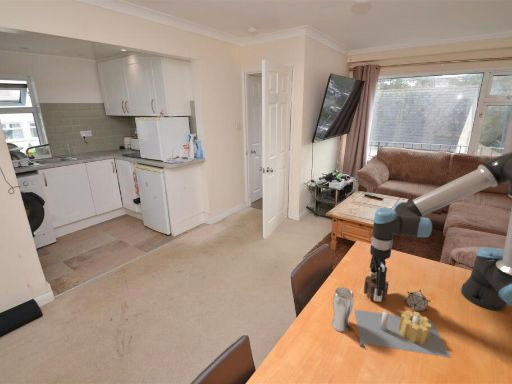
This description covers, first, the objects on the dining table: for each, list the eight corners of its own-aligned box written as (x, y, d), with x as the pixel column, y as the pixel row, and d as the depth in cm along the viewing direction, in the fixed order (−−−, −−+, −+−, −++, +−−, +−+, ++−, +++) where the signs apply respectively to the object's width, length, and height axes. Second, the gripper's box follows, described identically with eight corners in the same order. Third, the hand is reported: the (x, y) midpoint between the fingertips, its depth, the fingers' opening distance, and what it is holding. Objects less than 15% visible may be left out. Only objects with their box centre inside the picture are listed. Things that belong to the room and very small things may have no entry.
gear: (414, 321, 100) (417, 309, 98) (433, 341, 92) (437, 328, 90) (393, 325, 99) (395, 312, 97) (411, 346, 90) (414, 332, 88)
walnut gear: (383, 287, 117) (385, 276, 115) (389, 301, 108) (391, 289, 106) (362, 285, 118) (363, 274, 116) (365, 299, 110) (367, 287, 108)
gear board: (430, 323, 101) (435, 305, 99) (450, 361, 87) (456, 341, 84) (353, 312, 107) (356, 295, 104) (360, 346, 92) (363, 327, 89)
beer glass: (337, 335, 96) (341, 301, 92) (327, 320, 103) (330, 288, 98) (353, 330, 98) (358, 297, 93) (343, 317, 105) (347, 285, 100)
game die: (418, 319, 108) (436, 314, 100) (399, 310, 109) (415, 304, 101) (418, 298, 114) (435, 291, 106) (399, 289, 114) (415, 282, 106)
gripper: (366, 233, 117) (361, 276, 124) (377, 260, 97) (370, 310, 104) (384, 234, 116) (378, 278, 123) (399, 262, 95) (391, 312, 102)
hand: (374, 292), depth 113 cm, fingers closed on walnut gear, 9 cm apart
